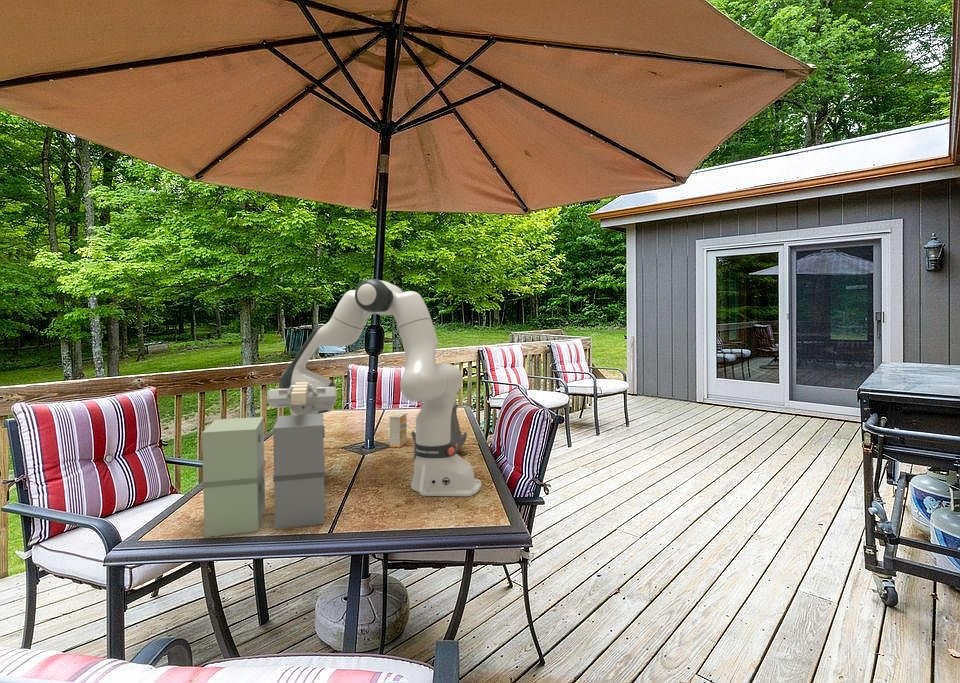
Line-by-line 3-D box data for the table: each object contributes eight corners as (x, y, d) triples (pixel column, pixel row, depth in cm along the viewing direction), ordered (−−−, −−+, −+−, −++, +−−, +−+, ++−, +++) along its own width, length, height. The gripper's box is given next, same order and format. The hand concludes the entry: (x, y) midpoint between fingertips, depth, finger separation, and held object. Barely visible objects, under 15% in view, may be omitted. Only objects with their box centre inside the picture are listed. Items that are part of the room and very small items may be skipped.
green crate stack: (217, 512, 136) (214, 419, 135) (266, 507, 140) (264, 416, 139) (203, 538, 121) (200, 432, 119) (259, 531, 125) (257, 429, 123)
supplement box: (400, 448, 204) (400, 416, 204) (389, 447, 205) (389, 416, 205) (407, 443, 212) (407, 412, 212) (396, 442, 213) (396, 412, 213)
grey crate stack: (279, 506, 141) (277, 416, 140) (325, 501, 145) (324, 413, 144) (273, 529, 126) (271, 428, 124) (325, 523, 129) (324, 425, 128)
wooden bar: (296, 392, 149) (296, 382, 149) (308, 391, 150) (308, 381, 150) (291, 405, 127) (291, 393, 127) (305, 404, 128) (305, 392, 128)
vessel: (462, 444, 210) (462, 397, 209) (469, 459, 188) (469, 407, 187) (411, 446, 207) (411, 399, 206) (411, 461, 185) (411, 408, 184)
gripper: (268, 395, 156) (264, 378, 144) (336, 392, 162) (336, 376, 151) (268, 414, 153) (263, 398, 142) (336, 411, 160) (337, 395, 148)
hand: (301, 387), depth 146 cm, fingers closed on wooden bar, 3 cm apart
